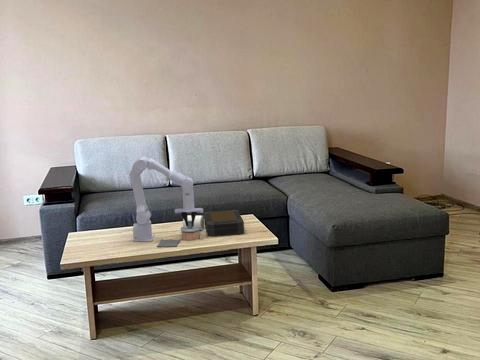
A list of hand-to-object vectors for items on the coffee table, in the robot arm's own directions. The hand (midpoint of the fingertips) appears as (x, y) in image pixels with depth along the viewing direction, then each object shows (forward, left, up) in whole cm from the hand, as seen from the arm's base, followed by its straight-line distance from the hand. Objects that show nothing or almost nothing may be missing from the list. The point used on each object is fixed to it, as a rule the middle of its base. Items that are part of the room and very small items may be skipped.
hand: (190, 225), depth 264 cm
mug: (0, +17, -7) cm, 18 cm away
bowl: (0, 0, -7) cm, 7 cm away
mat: (-10, -9, -7) cm, 15 cm away
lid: (0, 0, -2) cm, 2 cm away
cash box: (+17, +15, -7) cm, 23 cm away
